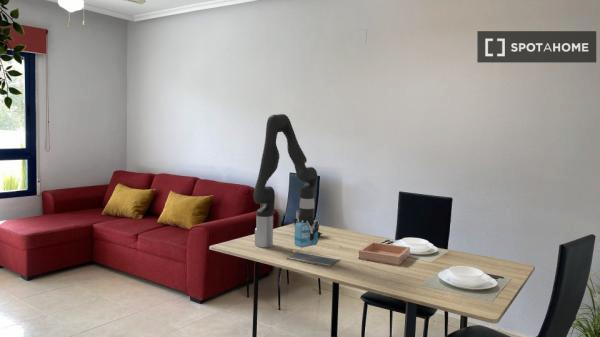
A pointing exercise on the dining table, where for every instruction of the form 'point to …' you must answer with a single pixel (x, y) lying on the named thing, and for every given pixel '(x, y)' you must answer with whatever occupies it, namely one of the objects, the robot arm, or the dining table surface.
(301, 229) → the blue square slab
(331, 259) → the mat
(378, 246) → the planter saucer
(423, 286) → the dining table surface
